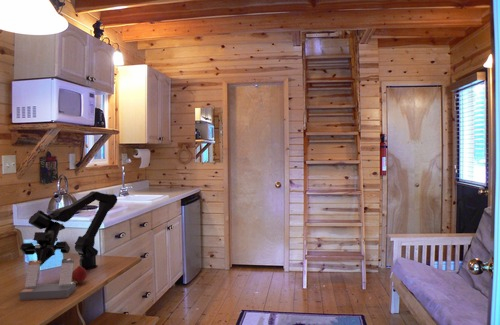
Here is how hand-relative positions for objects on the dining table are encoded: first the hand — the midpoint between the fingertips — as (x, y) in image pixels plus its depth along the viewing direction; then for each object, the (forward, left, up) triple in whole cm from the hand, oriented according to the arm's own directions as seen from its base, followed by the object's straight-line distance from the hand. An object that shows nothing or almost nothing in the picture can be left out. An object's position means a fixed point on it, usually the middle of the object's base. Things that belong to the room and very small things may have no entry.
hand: (38, 266), depth 146 cm
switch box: (0, +9, -10) cm, 14 cm away
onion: (-14, +7, -10) cm, 18 cm away
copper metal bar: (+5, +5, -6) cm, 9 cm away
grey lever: (-5, +14, -6) cm, 16 cm away
